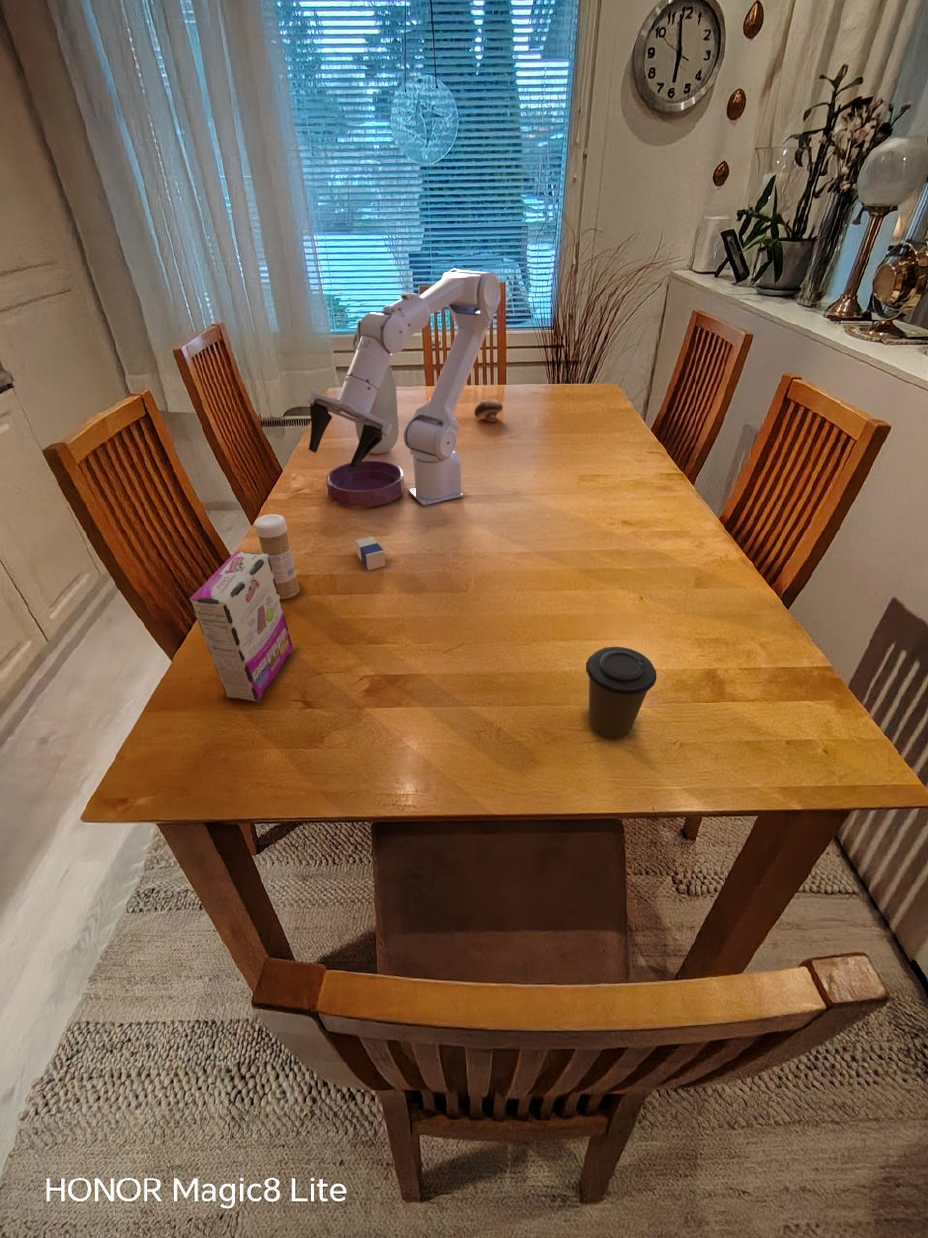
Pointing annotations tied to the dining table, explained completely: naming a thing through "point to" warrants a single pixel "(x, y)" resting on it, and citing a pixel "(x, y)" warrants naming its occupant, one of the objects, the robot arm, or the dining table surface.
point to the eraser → (370, 553)
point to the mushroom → (488, 410)
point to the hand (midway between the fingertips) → (332, 459)
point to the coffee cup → (617, 689)
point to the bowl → (365, 484)
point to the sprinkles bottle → (278, 553)
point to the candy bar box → (244, 624)
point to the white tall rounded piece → (384, 410)
